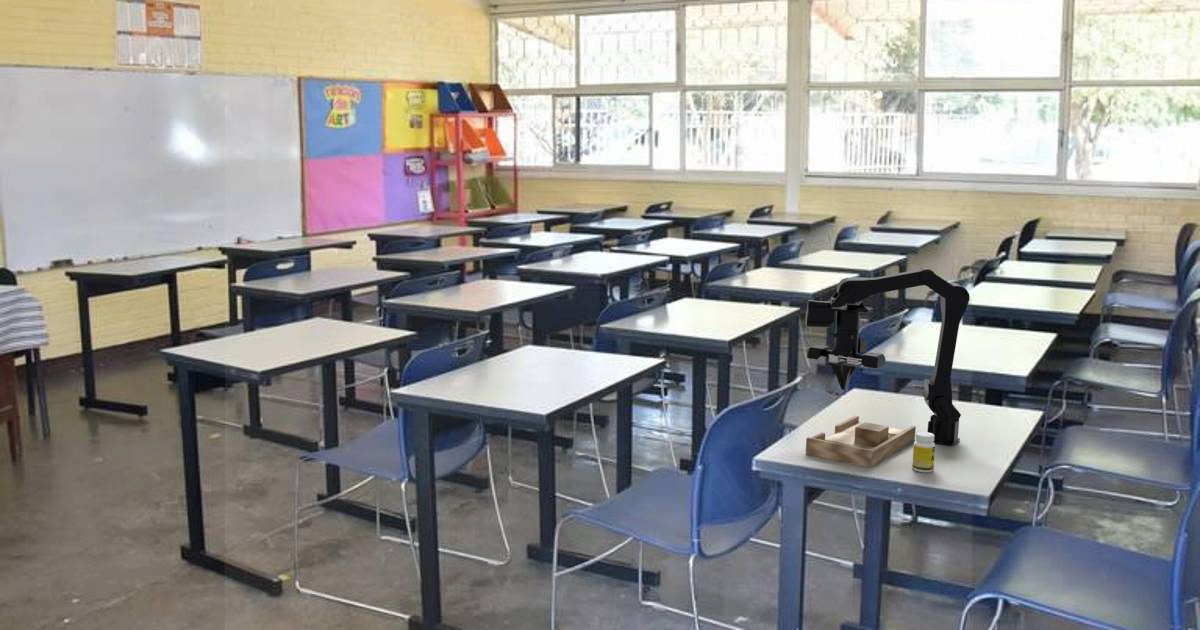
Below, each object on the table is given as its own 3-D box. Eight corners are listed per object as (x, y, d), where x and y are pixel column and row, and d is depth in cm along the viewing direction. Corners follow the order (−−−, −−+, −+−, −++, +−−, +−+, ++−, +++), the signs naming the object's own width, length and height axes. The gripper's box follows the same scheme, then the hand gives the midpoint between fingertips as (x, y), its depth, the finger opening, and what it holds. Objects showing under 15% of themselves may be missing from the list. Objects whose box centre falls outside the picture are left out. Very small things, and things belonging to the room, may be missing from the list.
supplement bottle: (934, 473, 234) (937, 437, 232) (912, 472, 235) (915, 436, 233) (932, 467, 238) (934, 432, 237) (910, 465, 239) (913, 430, 238)
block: (887, 442, 251) (888, 426, 250) (878, 447, 246) (879, 431, 245) (864, 437, 254) (865, 422, 253) (854, 443, 249) (855, 427, 249)
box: (914, 439, 260) (915, 424, 260) (869, 467, 237) (870, 450, 237) (854, 428, 270) (855, 413, 269) (805, 454, 247) (806, 437, 246)
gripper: (895, 329, 259) (891, 389, 262) (826, 320, 270) (822, 378, 273) (878, 335, 250) (874, 397, 253) (807, 325, 261) (804, 386, 264)
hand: (843, 389), depth 261 cm, fingers closed
